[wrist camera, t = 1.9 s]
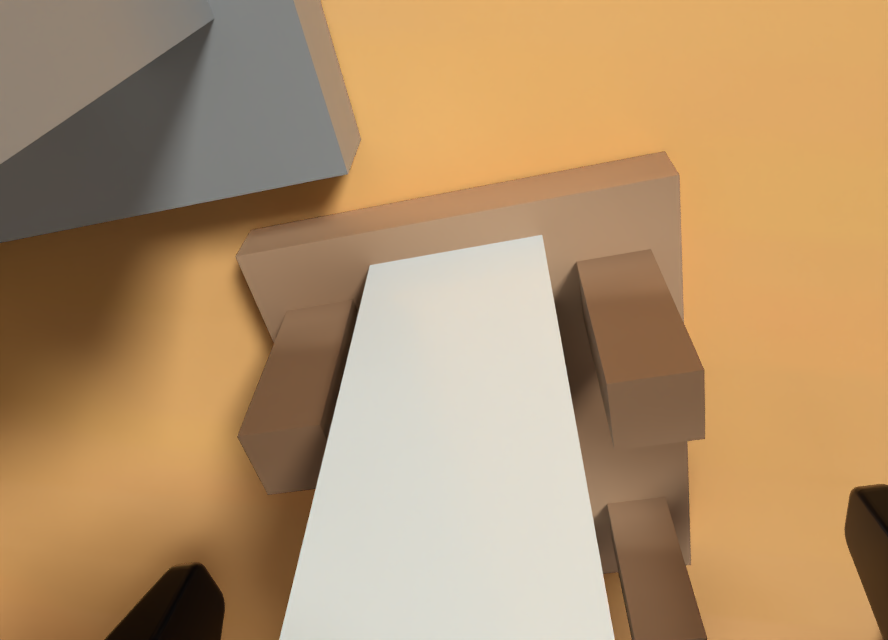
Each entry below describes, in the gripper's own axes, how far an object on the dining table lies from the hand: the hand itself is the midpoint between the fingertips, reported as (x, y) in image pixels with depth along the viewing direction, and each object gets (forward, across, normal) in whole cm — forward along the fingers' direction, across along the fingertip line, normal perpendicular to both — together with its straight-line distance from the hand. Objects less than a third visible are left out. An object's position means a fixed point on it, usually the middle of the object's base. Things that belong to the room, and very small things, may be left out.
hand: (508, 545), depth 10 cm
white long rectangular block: (+2, 0, 0) cm, 2 cm away
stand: (+3, 0, 0) cm, 3 cm away
